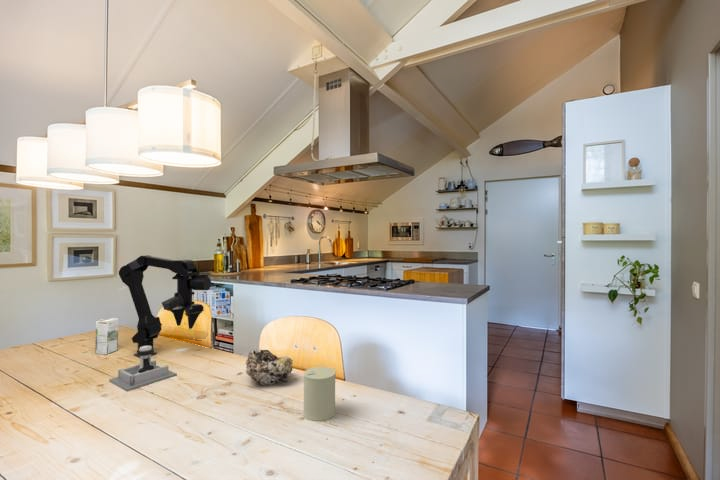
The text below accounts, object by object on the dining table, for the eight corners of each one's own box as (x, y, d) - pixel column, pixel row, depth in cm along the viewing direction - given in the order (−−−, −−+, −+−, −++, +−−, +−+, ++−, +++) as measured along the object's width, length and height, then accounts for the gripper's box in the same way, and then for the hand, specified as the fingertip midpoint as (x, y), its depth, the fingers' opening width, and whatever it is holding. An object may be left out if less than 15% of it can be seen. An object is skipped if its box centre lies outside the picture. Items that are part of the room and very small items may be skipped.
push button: (140, 380, 116) (140, 351, 116) (129, 377, 118) (129, 349, 118) (157, 373, 122) (157, 345, 122) (146, 371, 124) (147, 343, 124)
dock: (109, 381, 117) (109, 370, 117) (157, 367, 130) (157, 357, 130) (127, 391, 109) (127, 380, 109) (176, 375, 123) (177, 365, 123)
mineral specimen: (257, 370, 128) (257, 344, 128) (300, 376, 123) (300, 348, 123) (231, 387, 113) (231, 357, 113) (278, 394, 108) (279, 363, 108)
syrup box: (106, 349, 150) (107, 317, 150) (118, 350, 150) (118, 317, 150) (94, 354, 145) (95, 320, 145) (107, 354, 144) (107, 320, 144)
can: (299, 408, 99) (300, 367, 99) (329, 402, 103) (330, 363, 103) (307, 424, 91) (308, 379, 91) (340, 417, 94) (340, 374, 94)
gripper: (153, 290, 141) (153, 327, 141) (177, 294, 130) (177, 335, 130) (180, 287, 150) (180, 322, 150) (204, 291, 140) (204, 328, 139)
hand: (184, 327), depth 142 cm, fingers open, 9 cm apart
